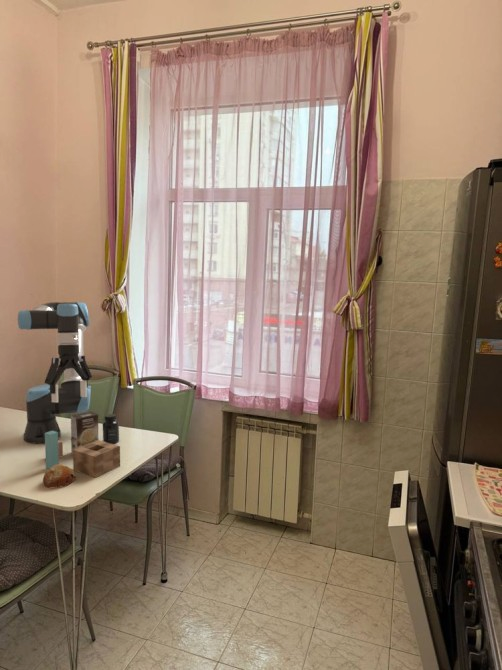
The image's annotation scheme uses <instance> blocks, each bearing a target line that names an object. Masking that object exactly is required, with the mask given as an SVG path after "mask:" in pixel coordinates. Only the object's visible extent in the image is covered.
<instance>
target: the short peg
mask: <svg viewBox="0 0 502 670" xmlns="http://www.w3.org/2000/svg"><path fill="white" fill-rule="evenodd" d="M63 445H64V444H63V441H62V440H58V455H59V458H62V457H63V456H64V447H63Z"/></svg>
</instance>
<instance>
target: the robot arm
mask: <svg viewBox="0 0 502 670" xmlns="http://www.w3.org/2000/svg"><path fill="white" fill-rule="evenodd" d="M17 325H18V328H19V329H20V330H28V331H30V330H57V344H59V345H58V346H57V353H58V355H59V357H52V358H51V363H50V367H49V369H48V370H47V371H48V372H47V374H46V377H45V379H44V384H41V385H36V386H33V387H31V388H29V389H28V390H26V395H25V397H26V398H25V403H26V426H25V428H24V433H23V435H22V436H23V441H24V442H25V443H28V444H45V433H46V432H49V431H55V432H58V439H59V438H60V437H61V435H62V434H61V428H60V426H59V423H58V421H57V415H61V414H63V415H65V414H80V413H86V412H87V411H89V408H90V403H91V392H92V386H91V385H88V384H89V382H88V381H89V380H90V379H91V378H92V377H93V375H92V373H91V370H90V369H89V366H88V364H87V361H86V356H85V355H84V333H85V332H86V331H87V327H89V326H90V317H89V311H88V307H87V304H86V303H85V302H79V301H75V302H73V301H72V302H67V301H66V302H59V301H57V302H56V301H54V302H46V303H42V304H39V305H36V306H34V308H32V310H29V309H26V310H24V309H23V310H19V311H18V313H17ZM62 375H63V381H61V383H60V387H59V385H58V384H57V383H58V382H59V380H60V378H61V377H62Z"/></svg>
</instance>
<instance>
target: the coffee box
mask: <svg viewBox="0 0 502 670" xmlns="http://www.w3.org/2000/svg"><path fill="white" fill-rule="evenodd" d="M70 432H71V433H70V443H71V444H70V446H71V450H70V451H71V453H72V454H73V449H76V448H78V447H81V446H84V445H86V444H89V443H91V442H94V441H97V440H99V414H98V413H96V412H93V411H92V410H91V411H88V412H87V411H85V412H79V413H73V414H71V415H70Z"/></svg>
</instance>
